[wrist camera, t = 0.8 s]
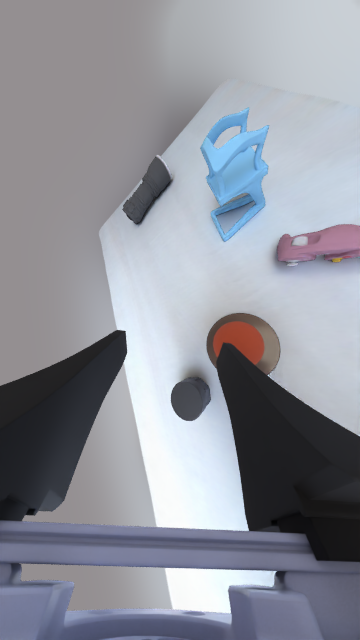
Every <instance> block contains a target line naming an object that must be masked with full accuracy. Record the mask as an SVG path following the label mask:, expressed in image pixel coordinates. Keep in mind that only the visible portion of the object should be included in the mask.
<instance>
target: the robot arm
mask: <svg viewBox="0 0 360 640" xmlns="http://www.w3.org/2000/svg"><path fill="white" fill-rule="evenodd" d="M126 354H127V344H126V331H121V330H116V331H114V332H113V333H111V334H109V335H108V336H106V337H104V338H103V339H101V340H99V341H98V342H96V343H94V344H93V345H91V346H90V347H87V348H85V349H84V350H82V351H80V352H78V353H76V354H75V355H73V356H71V357H69V358H67V359H65V360H63V361H60V362H58V363H56V364H54V365H52V366H50V367H47V368H45V369H43V370H40V371H38V372H35V373H33V374H30V375H28V376H25V377H23V378H20V379H18V380H15V381H12V382H10V383H7V384H4V385H2V386H0V640H360V436H358V435H356V434H354V433H353V432H351V431H349V430H347V429H345V428H344V427H342V426H340V425H339V424H337V423H335V422H334V421H332V420H330V419H329V418H327V417H325V416H324V415H322V414H321V413H319V412H317V411H316V410H314V409H313V408H311V407H310V406H308V405H307V404H305V403H304V402H302V401H301V400H299V399H298V398H296V397H295V396H293V395H292V394H290V393H289V392H288V391H286V390H285V389H284V388H282V387H281V386H280V385H278V384H277V383H276V382H274V381H273V380H272V379H271V378H269V377H268V376H267V375H266V374H265V373H263V372H262V371H261V370H260V369H259V368H258V367H257V366H255V365H254V364H253V363H252V362H251V361H250V360H249V359H248V358H247V357H246V356H245V355H243V354H242V353H241V352H240V351H239V350H238V349H237V348H236V347H235V346H234V345H233V344H231V343H224V342H223V344H222V347H221V350H220V353H219V355H218V358H217V361H216V366H217V372H218V377H219V380H220V383H221V387H222V390H223V393H224V397H225V400H226V403H227V407H228V411H229V415H230V419H231V424H232V429H233V435H234V440H235V446H236V451H237V457H238V464H239V470H240V477H241V484H242V492H243V499H244V508H245V515H246V520H247V524H248V528H249V531H230V530H207V529H185V528H162V527H139V526H116V525H94V524H93V525H92V524H71V523H49V522H26V521H22V519H23V518H24V516H25V515H36V513H37V512H38V511H53V510H55V509H56V508H57V507H58V506H59V505H60V504H61V503H62V502H63V501H64V499H65V496H66V493H67V490H68V488H69V485H70V482H71V480H72V477H73V474H74V471H75V469H76V466H77V463H78V461H79V458H80V456H81V453H82V450H83V448H84V445H85V443H86V440H87V437H88V435H89V433H90V430H91V428H92V425H93V423H94V421H95V418H96V416H97V414H98V411H99V409H100V407H101V404H102V402H103V400H104V398H105V396H106V394H107V392H108V391H109V389H110V387H111V385H112V383H113V381H114V379H115V378H116V376H117V374H118V372H119V370H120V369H121V367H122V365H123V362H124V360H125V357H126ZM19 563H26V564H60V565H61V564H62V565H94V566H95V565H96V566H128V567H163V568H197V569H231V570H266V571H277V572H276V573H275V577H274V580H275V583H274V586H273V587H267V586H258V585H236V586H229V589H228V592H229V600H230V607H231V613H216V612H202V611H188V610H172V609H104V610H81V611H67V608H68V605H69V602H70V598H71V595H72V592H73V589H74V582H69V581H58V580H35V581H21V580H20V578H21V572H22V567H21V564H19Z"/></svg>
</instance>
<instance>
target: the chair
mask: <svg viewBox="0 0 360 640" xmlns="http://www.w3.org/2000/svg"><path fill="white" fill-rule="evenodd" d="M248 113H249V107H248V108H246V109H245V110H243V111H241V112H239V113H236V114H231V115H228V116H225V117H223V118H222V119H220V120H219V121H218V122H217V123H216V124H215V125H214V126H213V128H212V129H211V130H210V132H209V133H208V135H207V136H206V138H205V140H204V142H203V144H202V146H201V148H200V149H201V151H202V154H203V156H204V158H205V160H206V162H207V165H208V167H209V175H208V176H206V179H207V183H208V185H209V186H210V188H211V190H212V191H213V193H214V195H215V197H216V199H217V201H218V203H219V205H220V207H219V208H217V209H215V210H213V211H212V212H211V216H212V219H213V221H214V223H215V225H216V227H217V229H218V231H219V233H220V235H221V237H222V239H223V241H227V240H228V239H229V238H230V237H232V236H233V235H234V234H235V233H236V232H237V231H238V230H239V229H240V228H241V227H242V226H243V225H244V224H245V223H246V222H247V221H248V220H249V219H251V218H252V217H253V216H254V215H255V214H256V213H257V212H258V211H259V210H261V209H262V208H263V207H264V206H265V198H264V195H263V192H262V187H261V182H262V179H263V177H264V176H265V175H266V174H268V165H267V164H266V163H265V162H264V161H263V160H262V159H261V153H262V148H263V145H264V142H265V138H266V135H267V132H268V128H269V125H267V126H265V127H263V128H261V129H259V130H256V131H250V132H246V125H247V117H248ZM233 126H241V131H240V134H238V135H236V136H234V137H233V138H232V139H230V140H229V141H228V142H227V143H226V144H225V145H224V146H222V147H221V148H219V149H217V148H215V147H214V146H213V145H214V143H215V141H216V140H217V138H218V137H219V135H220V134H221V133H222V132H223V131H224V130H226V129H227V128H230V127H233ZM253 145H258V146H257V148H256V151H254V150H253V148H252V147H251V146H253ZM242 193H249V194H248V195H246V196H244V197H242V198H240V199H237V200H235V201H233V202H230V203H228V204H226V205H224V204H225V203H226V202H228V201H229V200H230V199H232V198H234V197H236V196H238V195H240V194H242ZM252 201H255V205H254V206H253V207H251V208H250V209H249V211H248V212H247V213H246V214H245V215H244V216H243V217H242V218H241V219H240V220H239V221H238V222H237V223H236V224H235V225H234V226H233V227H232V228H231V229H230V230H229V231H228V232H227V233H226V234H224V232H223V230H222V228H221V226H220V224H219V222H218V220H217V218H216V216H217V215H219V214H221V213H224V212H227V211H229V210H232V209H235V208H237V207H240V206H243V205H245V204H247V203H250V202H252ZM222 205H224V206H222Z"/></svg>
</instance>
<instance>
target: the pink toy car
mask: <svg viewBox="0 0 360 640" xmlns="http://www.w3.org/2000/svg"><path fill="white" fill-rule="evenodd" d="M277 253H278V261H287V262H289V263H290V264H287V265H288V266H296V265H298V264H299V263H296V262H299V261H309V260H315V258H316V255H322V254H326V256H325V259H324V260H332V262H340V261H341V260H342V259H346V258H354V257H356V258H360V226H357V225H352V224H344V225H336V226H332V227H329V228H326V229H324V230H321V231H318V232H313V233H307V234H302V235H298V236H294V237H290V235H289V234H284V235H283V236H282V237H281V239H280V240H279V243H278V247H277Z"/></svg>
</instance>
